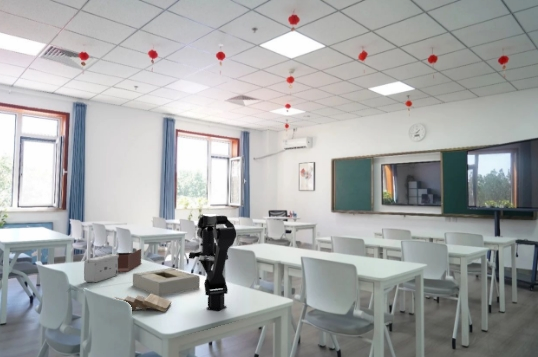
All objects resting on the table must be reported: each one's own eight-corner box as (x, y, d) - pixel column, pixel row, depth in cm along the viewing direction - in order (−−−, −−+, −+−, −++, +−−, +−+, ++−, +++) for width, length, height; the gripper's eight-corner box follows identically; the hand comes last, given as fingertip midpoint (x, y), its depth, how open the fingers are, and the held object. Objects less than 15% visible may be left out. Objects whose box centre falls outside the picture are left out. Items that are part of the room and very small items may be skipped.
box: (200, 289, 193) (170, 279, 216) (200, 274, 193) (170, 266, 217) (159, 298, 177) (132, 286, 200) (159, 282, 177) (132, 272, 200)
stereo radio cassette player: (108, 275, 228) (108, 242, 229) (119, 275, 226) (120, 243, 227) (83, 282, 208) (83, 247, 209) (95, 283, 206) (95, 247, 207)
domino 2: (149, 303, 160) (127, 295, 159) (147, 306, 156) (124, 299, 154) (148, 306, 160) (126, 299, 159) (145, 310, 155) (123, 302, 154)
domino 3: (159, 302, 161) (137, 295, 160) (157, 306, 156) (135, 298, 155) (158, 306, 161) (136, 298, 160) (156, 309, 156) (133, 302, 155)
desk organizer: (112, 272, 236) (112, 255, 236) (127, 264, 265) (127, 248, 266) (128, 272, 236) (129, 254, 237) (142, 264, 266) (142, 248, 266)
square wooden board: (171, 301, 164) (150, 293, 163) (166, 308, 153) (143, 299, 153) (170, 304, 163) (149, 296, 163) (164, 312, 153) (142, 303, 153)
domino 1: (137, 302, 160) (114, 296, 158) (136, 307, 155) (112, 301, 153) (136, 306, 160) (113, 300, 158) (135, 310, 155) (111, 304, 153)
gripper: (234, 239, 174) (234, 272, 173) (202, 238, 182) (202, 269, 181) (221, 242, 164) (221, 277, 163) (188, 240, 172) (187, 274, 171)
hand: (208, 274), depth 170 cm, fingers closed
